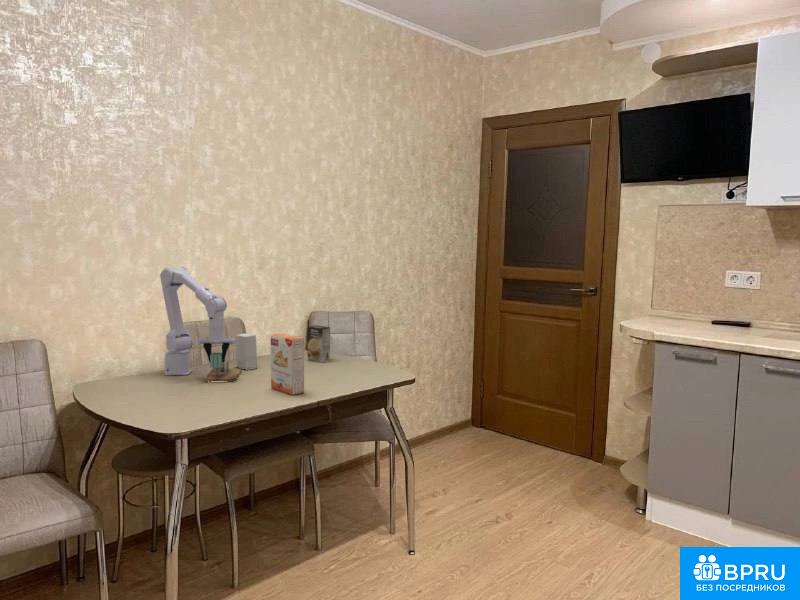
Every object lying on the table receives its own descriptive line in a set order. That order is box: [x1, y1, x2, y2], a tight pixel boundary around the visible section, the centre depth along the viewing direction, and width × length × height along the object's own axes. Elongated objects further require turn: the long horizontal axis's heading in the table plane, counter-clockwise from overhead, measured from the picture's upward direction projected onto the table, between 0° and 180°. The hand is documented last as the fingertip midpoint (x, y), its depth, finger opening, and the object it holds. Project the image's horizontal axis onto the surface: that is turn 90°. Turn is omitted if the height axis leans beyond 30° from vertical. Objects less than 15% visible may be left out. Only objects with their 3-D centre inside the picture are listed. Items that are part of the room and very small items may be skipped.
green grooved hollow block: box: [209, 351, 223, 369], centre depth 251 cm, size 4×6×5 cm
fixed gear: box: [212, 359, 230, 372], centre depth 260 cm, size 6×6×5 cm
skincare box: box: [235, 333, 258, 371], centre depth 273 cm, size 8×6×15 cm
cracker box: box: [270, 333, 305, 396], centre depth 234 cm, size 14×6×21 cm, turn 44°
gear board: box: [203, 368, 243, 383], centre depth 255 cm, size 12×18×4 cm, turn 7°
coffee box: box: [306, 324, 331, 364], centre depth 291 cm, size 9×6×16 cm
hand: (216, 361), depth 251 cm, fingers closed on green grooved hollow block, 4 cm apart
